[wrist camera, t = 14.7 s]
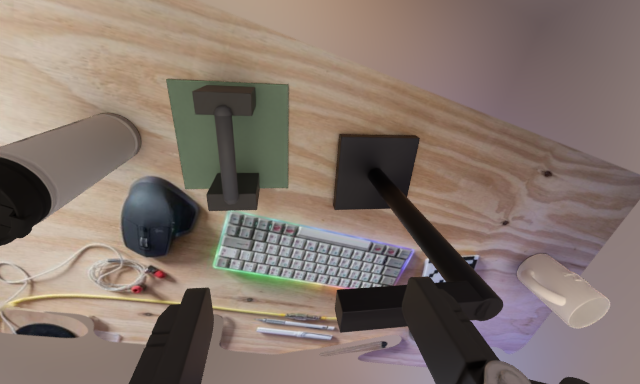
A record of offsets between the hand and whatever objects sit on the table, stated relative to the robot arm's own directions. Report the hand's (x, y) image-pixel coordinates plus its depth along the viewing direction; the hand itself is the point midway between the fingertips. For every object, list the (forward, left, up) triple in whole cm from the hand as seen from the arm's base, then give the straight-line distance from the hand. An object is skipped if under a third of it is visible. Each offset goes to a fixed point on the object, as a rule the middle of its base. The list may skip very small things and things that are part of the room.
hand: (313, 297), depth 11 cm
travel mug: (+2, -22, -32) cm, 39 cm away
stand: (+7, +11, -31) cm, 34 cm away
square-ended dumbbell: (+2, -7, -31) cm, 32 cm away
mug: (+29, +52, -32) cm, 67 cm away
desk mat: (+2, -7, -31) cm, 32 cm away
